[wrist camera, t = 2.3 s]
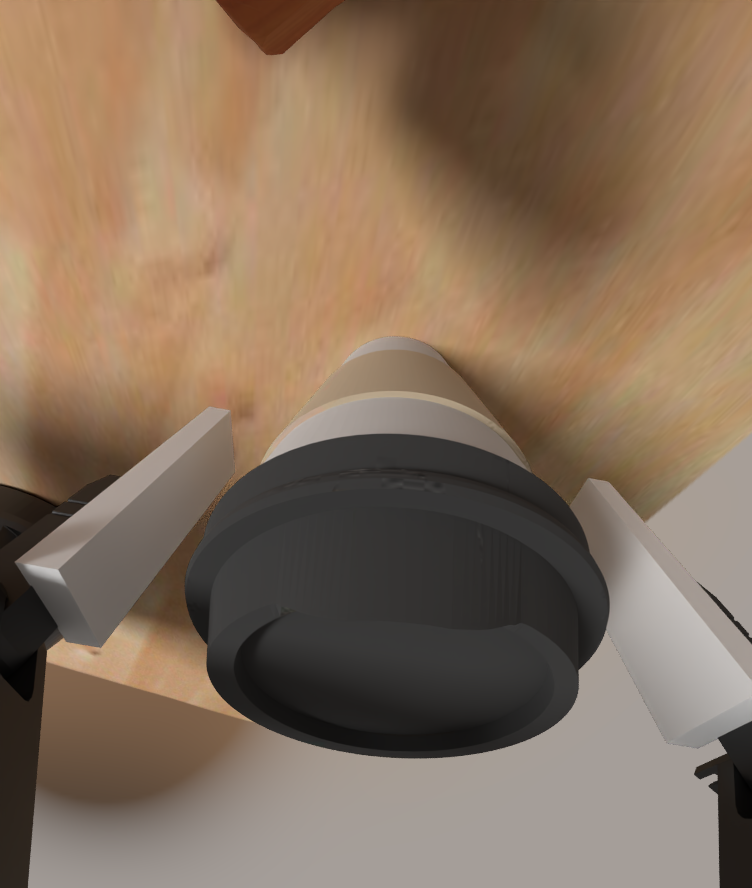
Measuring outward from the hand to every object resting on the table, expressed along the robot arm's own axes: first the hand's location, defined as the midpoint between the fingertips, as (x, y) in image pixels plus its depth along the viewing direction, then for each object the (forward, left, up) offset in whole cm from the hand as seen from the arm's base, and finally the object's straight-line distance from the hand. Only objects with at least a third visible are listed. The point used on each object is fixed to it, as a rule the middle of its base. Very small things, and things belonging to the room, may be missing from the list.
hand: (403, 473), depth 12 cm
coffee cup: (0, 0, -8) cm, 8 cm away
